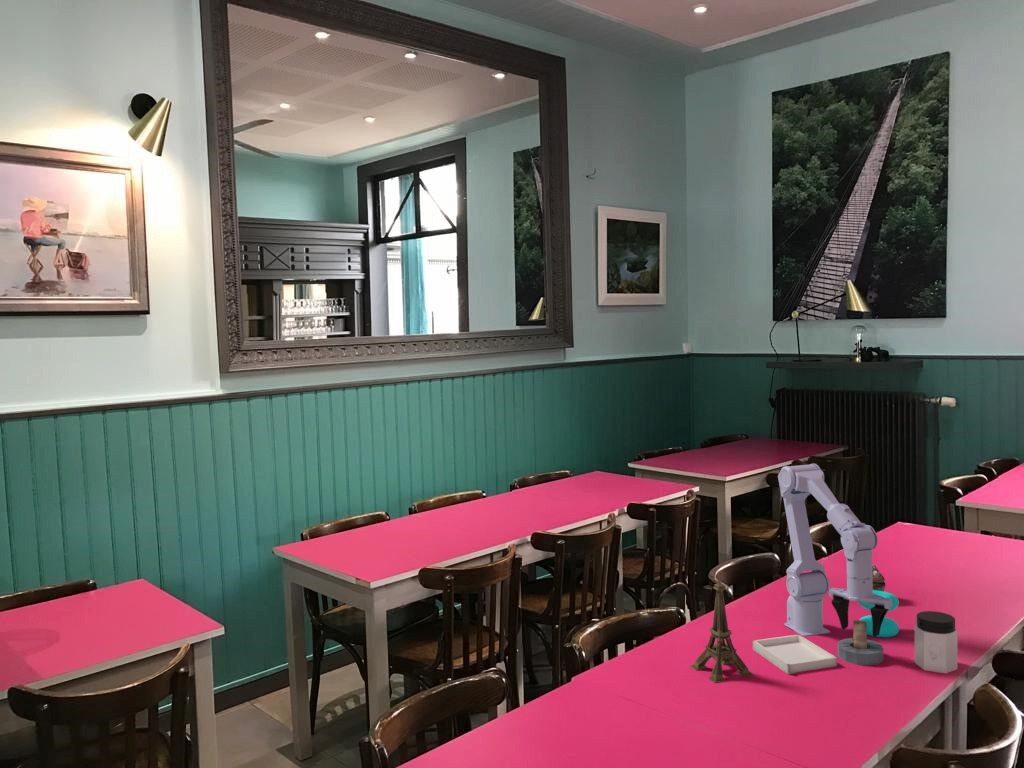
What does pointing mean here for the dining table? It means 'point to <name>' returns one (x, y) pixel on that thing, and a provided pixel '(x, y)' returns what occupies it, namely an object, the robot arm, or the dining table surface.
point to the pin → (860, 634)
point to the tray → (794, 653)
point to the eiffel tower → (720, 643)
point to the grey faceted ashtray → (860, 652)
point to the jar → (936, 642)
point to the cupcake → (877, 580)
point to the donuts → (888, 625)
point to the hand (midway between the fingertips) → (860, 631)
